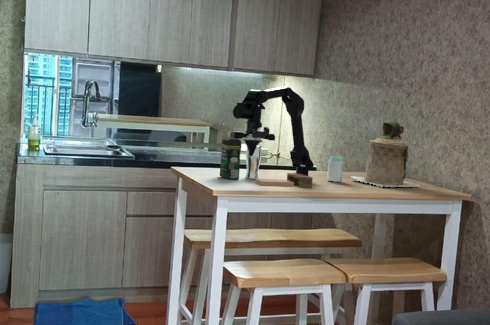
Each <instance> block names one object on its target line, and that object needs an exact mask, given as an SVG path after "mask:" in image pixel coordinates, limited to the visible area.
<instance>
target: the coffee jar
mask: <svg viewBox="0 0 490 325" xmlns="http://www.w3.org/2000/svg"><path fill="white" fill-rule="evenodd" d="M221 140H222V141H221V155H220V156H221V157H220V166H219V177H220V178H223V179H225V180H226V179H228V180H239V179H240V167H241V166H240V164H241V150H242V139H236V138H231V137H230V136H225V137H223V138H222V139H221Z"/></svg>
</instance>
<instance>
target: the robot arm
mask: <svg viewBox="0 0 490 325" xmlns="http://www.w3.org/2000/svg"><path fill="white" fill-rule="evenodd" d="M277 98H280V99H281V101H282V103H283V104H284V106H285V109H286V112H287V114H288V115H289V116H290V122H291V132H292V140H293V142H292V143H293V147H292V150H290V151H289V154H290V158H289V159H290V160H291V165H292V167H294V168H296V169H295V173H300V174H303V175H306V176H309V170H313V169H314V165H315V164H314V163H313V161H312V159H311V155H310V151H309V150H308V148H307V147H306V145H305V136H304V128H303V126H304V125H303V119H302V118H303V117H302V115H303V113H304V110H305V100H304V98H303V97H301V95H299V94H298V93H297V92H295V91H294V90H293V89H292V87H289V86H280V87H276V88H275V87H274V88H270V89H265V90H260V89H250V90H248V92H247V94H246V95H245V97H244V99H243V100H242V102H241V101H240V102H239V101H238V102H237V103H236V105H235V106H234V107H233V109H232V116H233V117H234V118H235V119H237V120H238V119H239V120H246V121H245V124H246V130H245V132H243V131H240V130H239V131H238V130H232V131H231V132H230V134H229V137H231V138H236V139H239V140H241V141H244V143H245V145H246V149H247V148H248V151H249V154H250V156H253V154H254V151H255V149H256V147H257V146H259V145H260V143H262V142H263V140H267V141H276V134H275V133H271V132H270V127H269V126H264V127H263V126H262V124H263V123H262V121H261V120H262V110H266V107H265V106H264V105H263V104H264V103H267V101H268V100H272V99H277Z"/></svg>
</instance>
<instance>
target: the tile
mask: <svg viewBox="0 0 490 325" xmlns="http://www.w3.org/2000/svg"><path fill="white" fill-rule="evenodd" d="M254 180H255V183H256V184H257V185H260V186H267V187H269V186H273V187H275V186H276V187H293V186H294V187H295V183H294V182H291V181H289V180H287V179H276V178H274V179H268V178H258V179H254Z"/></svg>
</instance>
